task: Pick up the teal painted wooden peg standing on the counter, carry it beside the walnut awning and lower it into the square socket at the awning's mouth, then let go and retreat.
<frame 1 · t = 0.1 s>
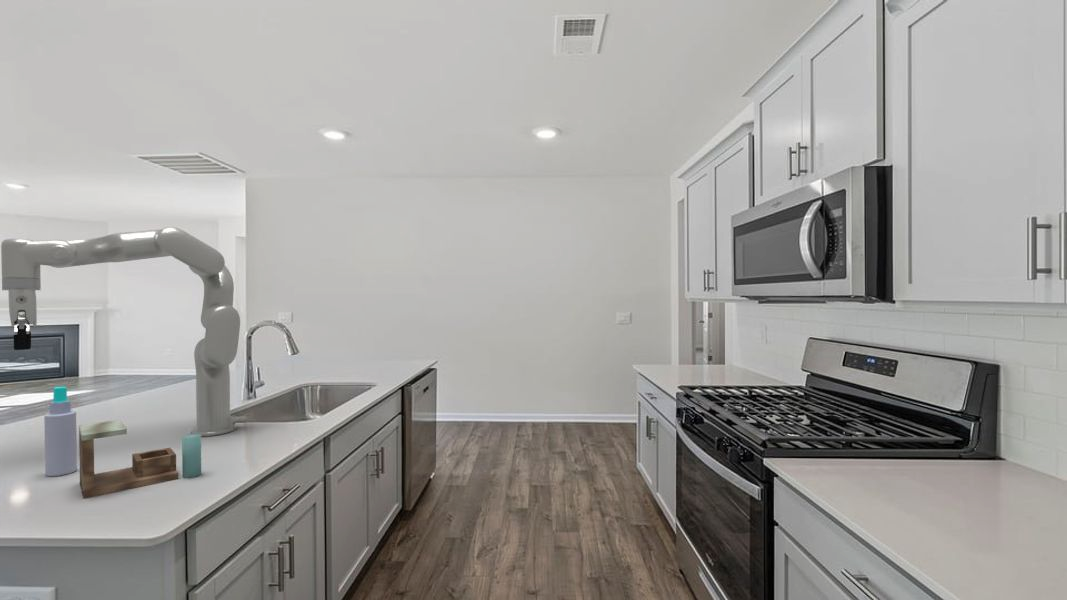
hand: (22, 348, 142), 31 cm above the worktop, tool pointing down, fingers open, 9 cm apart
spray bottle: (61, 473, 135), on the worktop
peg: (192, 475, 133), on the worktop
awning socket: (129, 480, 129), on the worktop
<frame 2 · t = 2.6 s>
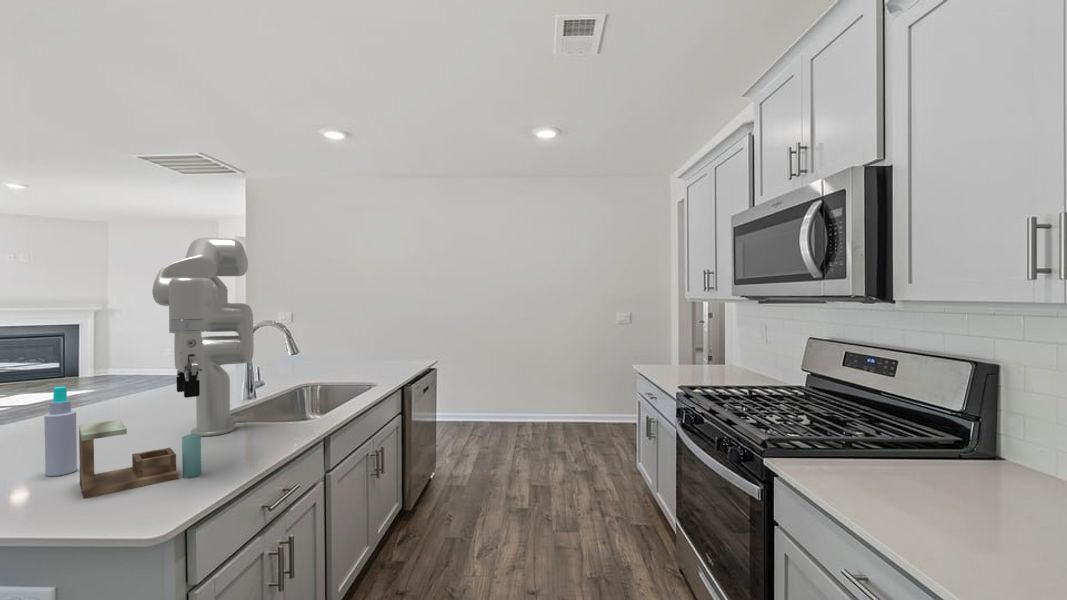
hand: (187, 394, 133), 21 cm above the worktop, tool pointing down, fingers open, 9 cm apart
nothing on the worktop moved.
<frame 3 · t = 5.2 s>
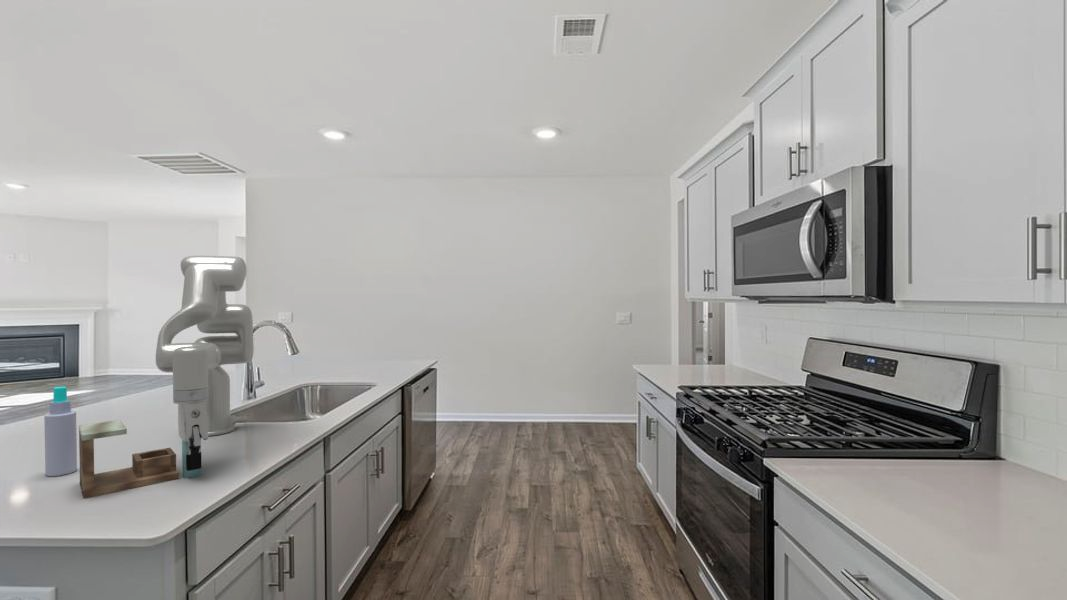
hand: (191, 466, 133), 2 cm above the worktop, tool pointing down, fingers closed on peg, 4 cm apart
peg: (192, 475, 133), on the worktop, touching gripper
everything else where it was.
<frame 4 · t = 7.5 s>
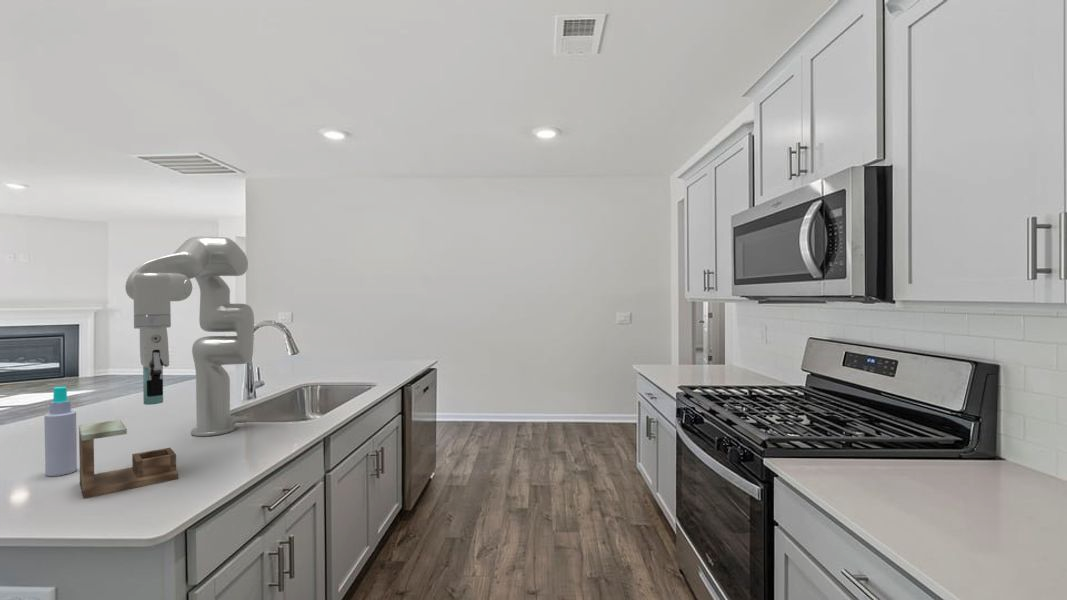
hand: (153, 393, 132), 21 cm above the worktop, tool pointing down, fingers closed on peg, 4 cm apart
peg: (153, 402, 132), point 19 cm above the worktop, touching gripper
everything else where it was.
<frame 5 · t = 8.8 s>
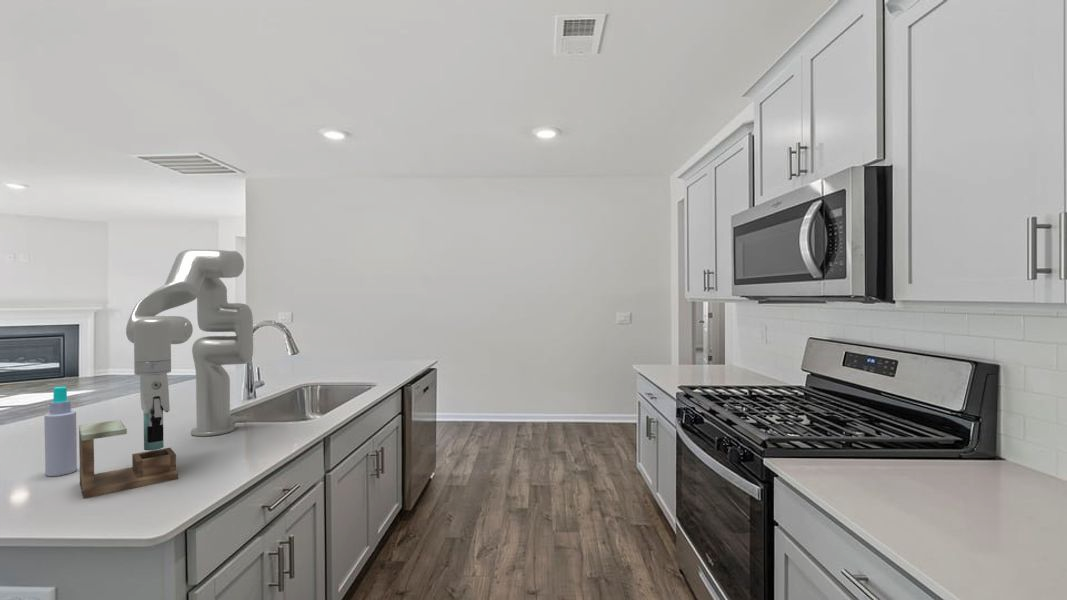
hand: (153, 438, 132), 9 cm above the worktop, tool pointing down, fingers closed on peg, 4 cm apart
peg: (153, 448, 132), point 7 cm above the worktop, touching gripper
everything else where it was.
when the fingers open (6 cm above the worktop, at t = 9.9 s): peg drops 2 cm, resting on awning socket.
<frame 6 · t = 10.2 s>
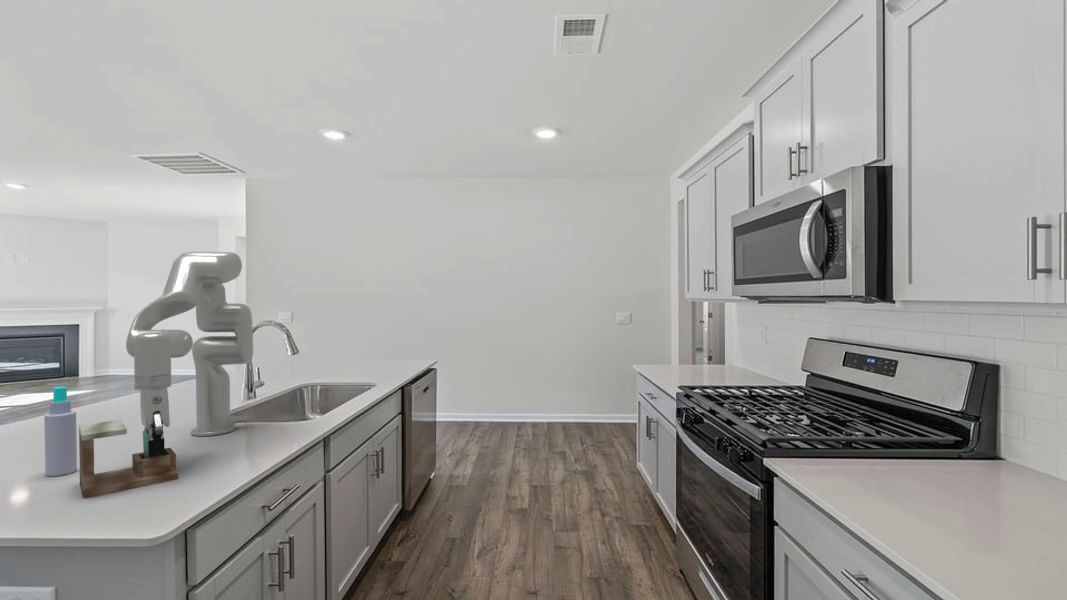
hand: (154, 451, 132), 6 cm above the worktop, tool pointing down, fingers open, 6 cm apart
peg: (154, 469, 133), point 2 cm above the worktop, touching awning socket
everything else where it was.
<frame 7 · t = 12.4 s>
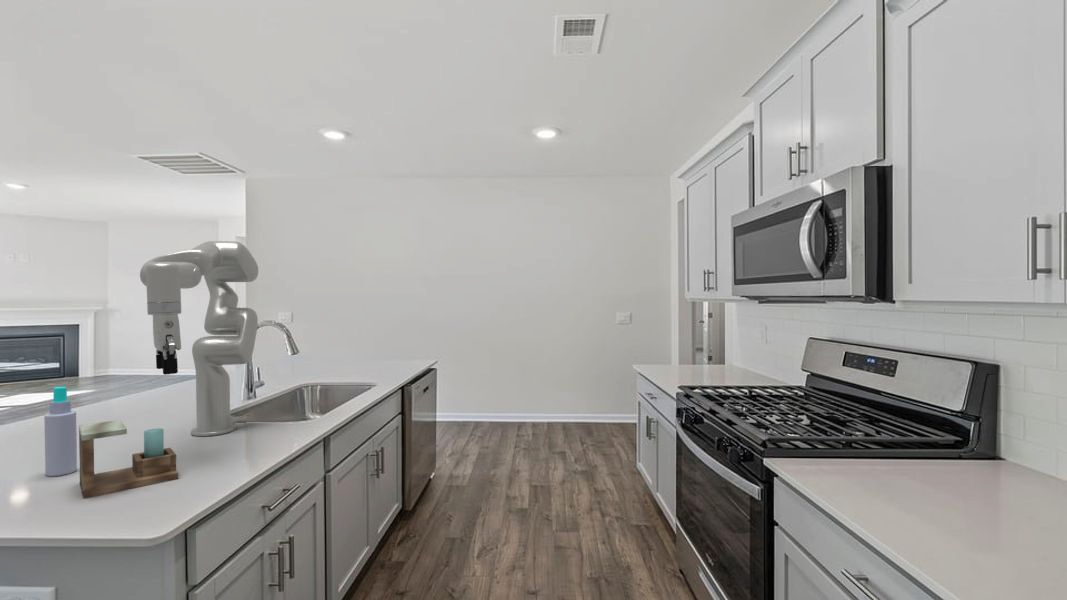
hand: (166, 370, 143), 25 cm above the worktop, tool pointing down, fingers open, 9 cm apart
nothing on the worktop moved.
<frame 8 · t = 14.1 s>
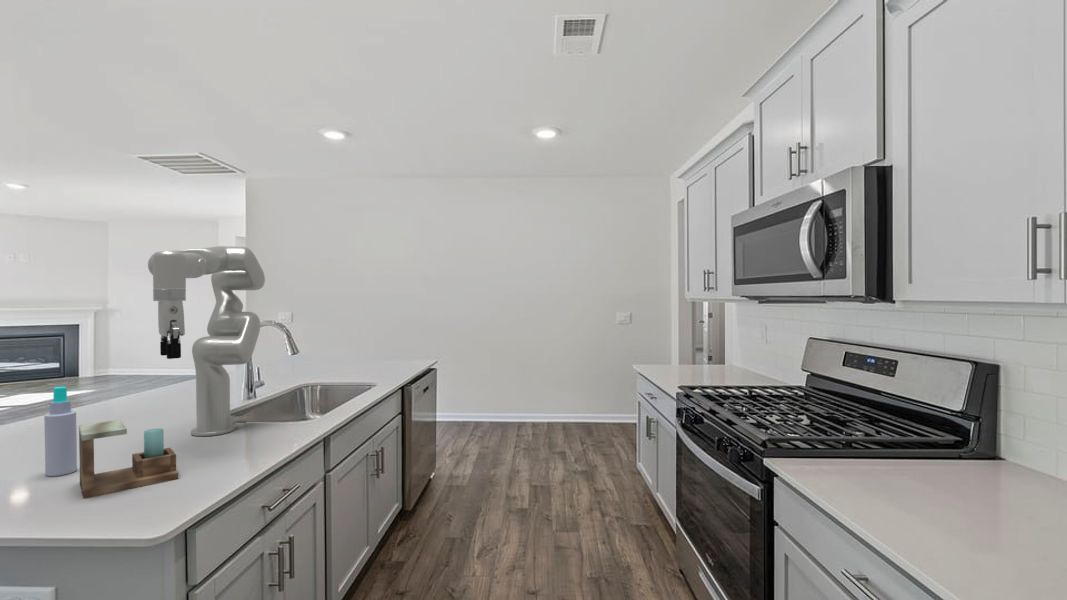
hand: (170, 356, 147), 28 cm above the worktop, tool pointing down, fingers open, 9 cm apart
nothing on the worktop moved.
at the end: peg 0.1 cm from the target spot on the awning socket, point 1.5 cm above the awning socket's base; peg tilted 0°; the gripper is holding nothing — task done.
